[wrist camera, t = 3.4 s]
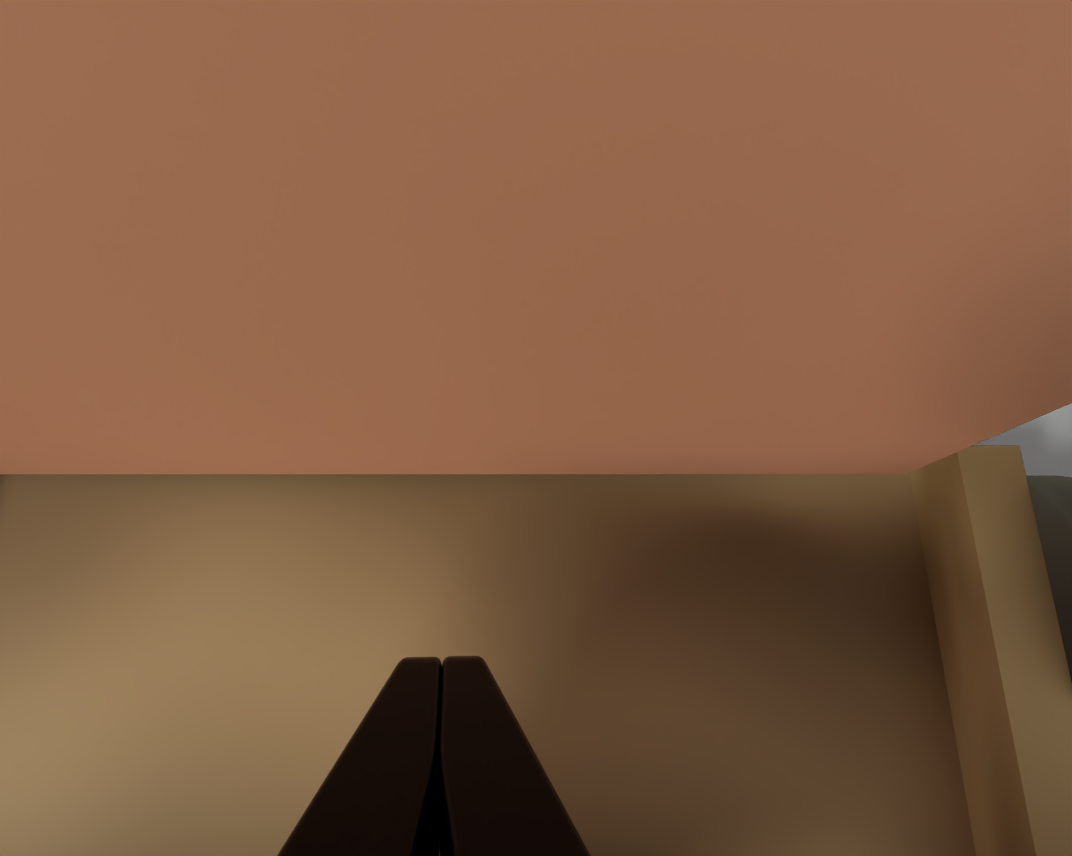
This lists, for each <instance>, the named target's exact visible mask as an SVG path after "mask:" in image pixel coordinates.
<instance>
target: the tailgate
mask: <svg viewBox="0 0 1072 856" xmlns="http://www.w3.org/2000/svg"><path fill="white" fill-rule="evenodd" d="M1070 403H1072V0H0V474H907V473H910V472H912V471H914V470H916V469H919V468H921V467H923V466H926V465H928V464H930V463H933V462H935V461H937V460H940V459H942V458H944V457H947V456H949V455H951V454H954V453H956V452H958V451H961V450H963V449H965V448H968V447H970V446H972V445H975V444H977V443H979V442H982V441H984V440H986V439H989V438H991V437H993V436H996V435H998V434H1000V433H1003V432H1005V431H1007V430H1010V429H1012V428H1014V427H1017V426H1019V425H1021V424H1024V423H1026V422H1028V421H1031V420H1033V419H1035V418H1038V417H1040V416H1042V415H1045V414H1047V413H1049V412H1052V411H1054V410H1056V409H1059V408H1061V407H1063V406H1066V405H1068V404H1070Z"/></svg>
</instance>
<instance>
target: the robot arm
mask: <svg viewBox="0 0 1072 856" xmlns="http://www.w3.org/2000/svg"><path fill="white" fill-rule="evenodd" d="M439 853H440V856H591V855H590V853H589V851H588V849H587V848H586V846H585V844H584V842H583V840H582V838H581V837H580V835H579V833H578V831H577V829H576V827H575V825H574V824H573V822H572V820H571V818H570V816H569V814H568V813H567V811H566V809H565V807H564V805H563V803H562V802H561V800H560V798H559V796H558V794H557V792H556V791H555V789H554V787H553V785H552V783H551V781H550V780H549V778H548V776H547V774H546V772H545V770H544V768H543V767H542V765H541V763H540V761H539V759H538V757H537V756H536V754H535V752H534V750H533V748H532V746H531V745H530V743H529V741H528V739H527V737H526V735H525V734H524V732H523V730H522V728H521V726H520V724H519V722H518V721H517V719H516V717H515V715H514V713H513V711H512V710H511V708H510V706H509V704H508V702H507V700H506V699H505V697H504V695H503V693H502V691H501V689H500V688H499V686H498V684H497V682H496V680H495V678H494V676H493V675H492V673H491V671H490V669H489V667H488V665H487V664H486V662H485V661H484V659H483V658H482V657H480V656H448V657H446V658H445V659H444V660H443V663H441V660H440V659H439V658H438V657H406V658H403V659H402V660H400V661H399V663H398V664H397V665H396V667H395V669H394V670H393V672H392V673H391V675H390V677H389V678H388V680H387V681H386V683H385V684H384V686H383V688H382V689H381V691H380V692H379V694H378V696H377V697H376V699H375V700H374V702H373V704H372V705H371V707H370V708H369V710H368V712H367V713H366V715H365V716H364V718H363V719H362V721H361V723H360V724H359V726H358V727H357V729H356V731H355V732H354V734H353V735H352V737H351V739H350V740H349V742H348V743H347V745H346V746H345V748H344V750H343V751H342V753H341V754H340V756H339V758H338V759H337V761H336V762H335V764H334V766H333V767H332V769H331V770H330V772H329V773H328V775H327V777H326V778H325V780H324V781H323V783H322V785H321V786H320V788H319V789H318V791H317V793H316V794H315V796H314V797H313V799H312V801H311V802H310V804H309V805H308V807H307V808H306V810H305V812H304V813H303V815H302V816H301V818H300V820H299V821H298V823H297V824H296V826H295V828H294V829H293V831H292V832H291V834H290V835H289V837H288V839H287V840H286V842H285V843H284V845H283V847H282V848H281V850H280V851H279V853H278V855H277V856H439Z"/></svg>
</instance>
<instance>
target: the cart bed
mask: <svg viewBox="0 0 1072 856" xmlns="http://www.w3.org/2000/svg"><path fill="white" fill-rule="evenodd" d="M448 656H480V657H482V658H483V659H484V661H485V662H486V664H487V665H488V667H489V669H490V671H491V673H492V675H493V676H494V678H495V680H496V682H497V684H498V686H499V688H500V689H501V691H502V693H503V695H504V697H505V699H506V700H507V702H508V704H509V706H510V708H511V710H512V711H513V713H514V715H515V717H516V719H517V721H518V722H519V724H520V726H521V728H522V730H523V732H524V734H525V735H526V737H527V739H528V741H529V743H530V745H531V746H532V748H533V750H534V752H535V754H536V756H537V757H538V759H539V761H540V763H541V765H542V767H543V768H544V770H545V772H546V774H547V776H548V778H549V780H550V781H551V783H552V785H553V787H554V789H555V791H556V792H557V794H558V796H559V798H560V800H561V802H562V803H563V805H564V807H565V809H566V811H567V813H568V814H569V816H570V818H571V820H572V822H573V824H574V825H575V827H576V829H577V831H578V833H579V835H580V837H581V838H582V840H583V842H584V844H585V846H586V848H587V849H588V851H589V853H590V855H591V856H1072V478H1069V477H1062V476H1026V474H1025V469H1024V465H1023V460H1022V456H1021V451H1020V447H1019V446H979V445H972V446H970V447H968V448H965V449H963V450H961V451H958V452H956V453H954V454H951V455H949V456H947V457H944V458H942V459H940V460H937V461H935V462H933V463H930V464H928V465H926V466H923V467H921V468H919V469H916V470H914V471H912V472H910V473H907V474H0V856H277V855H278V853H279V851H280V850H281V848H282V847H283V845H284V843H285V842H286V840H287V839H288V837H289V835H290V834H291V832H292V831H293V829H294V828H295V826H296V824H297V823H298V821H299V820H300V818H301V816H302V815H303V813H304V812H305V810H306V808H307V807H308V805H309V804H310V802H311V801H312V799H313V797H314V796H315V794H316V793H317V791H318V789H319V788H320V786H321V785H322V783H323V781H324V780H325V778H326V777H327V775H328V773H329V772H330V770H331V769H332V767H333V766H334V764H335V762H336V761H337V759H338V758H339V756H340V754H341V753H342V751H343V750H344V748H345V746H346V745H347V743H348V742H349V740H350V739H351V737H352V735H353V734H354V732H355V731H356V729H357V727H358V726H359V724H360V723H361V721H362V719H363V718H364V716H365V715H366V713H367V712H368V710H369V708H370V707H371V705H372V704H373V702H374V700H375V699H376V697H377V696H378V694H379V692H380V691H381V689H382V688H383V686H384V684H385V683H386V681H387V680H388V678H389V677H390V675H391V673H392V672H393V670H394V669H395V667H396V665H397V664H398V663H399V661H400V660H402V659H403V658H406V657H438V658H439V659H440V660H441V663H443V660H444V659H445V658H446V657H448ZM439 856H440V853H439Z"/></svg>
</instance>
